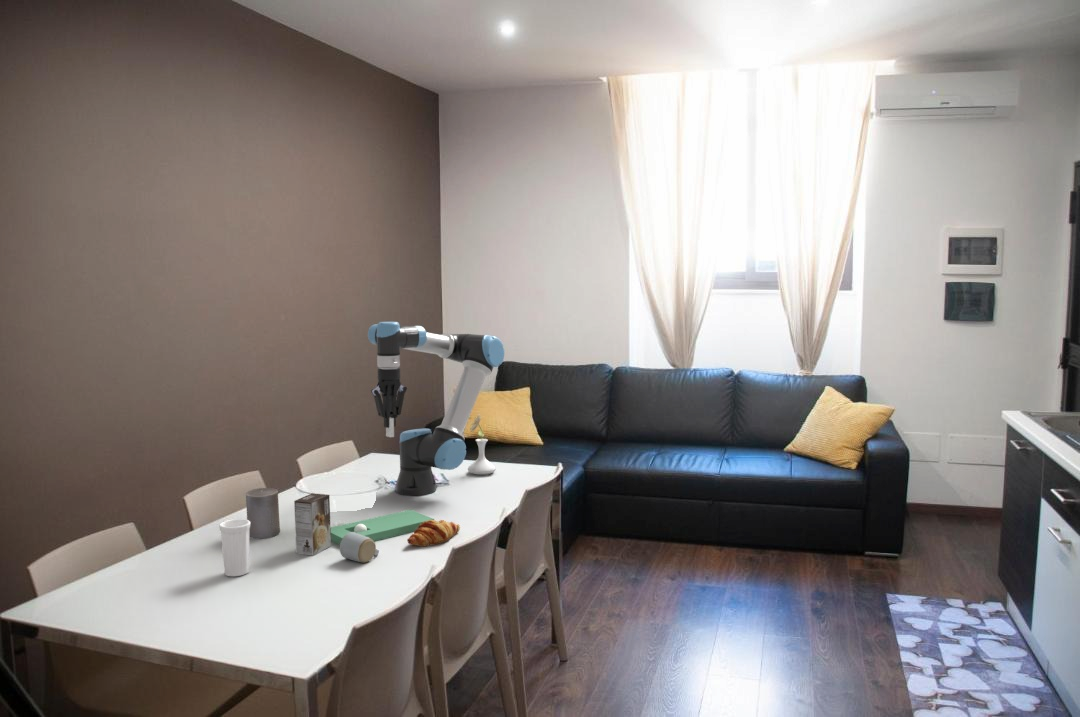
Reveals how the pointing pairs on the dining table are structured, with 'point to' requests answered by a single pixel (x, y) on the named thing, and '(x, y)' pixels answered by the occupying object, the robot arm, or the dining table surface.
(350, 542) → the ceramic mug
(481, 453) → the flower in vase
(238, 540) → the cup
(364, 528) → the ball
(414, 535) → the croissant
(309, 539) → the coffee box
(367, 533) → the green slotted board
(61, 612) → the dining table surface
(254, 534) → the pillar candle
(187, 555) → the dining table surface
